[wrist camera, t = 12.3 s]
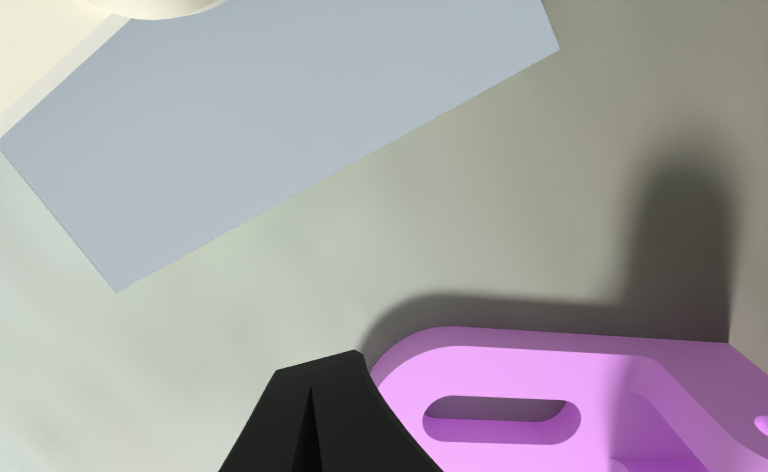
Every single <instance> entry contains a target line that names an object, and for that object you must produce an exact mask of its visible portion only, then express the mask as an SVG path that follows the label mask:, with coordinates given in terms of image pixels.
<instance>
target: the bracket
mask: <svg viewBox="0 0 768 472" xmlns="http://www.w3.org/2000/svg"><path fill="white" fill-rule="evenodd" d="M369 374H370V376H371V378H372V380H373V382H374V383H375V385H376V387H377V388H378V390H379V392H380V393H381V395H382V396H383V398H384V399H385V401H386V402H387V404H388V405H389V407H390V408H391V409H392V411H393V412H394V413H395V415H396V416H397V417H398V419H399V420H400V421H401V423H402V424H403V425H404V427H405V428H406V429H407V430H408V432H409V433H410V434H411V435H412V437H413V438H414V439H415V440H416V441H417V443H418V444H419V445H420V446H421V447H422V448H423V449H424V450H425V452H426V453H427V454H428V455H429V456H430V457H431V458H432V459H433V460H434V462H435V463H436V464H437V465H438V466H439V467H440V468H441V469H442V470H443V471H444V472H768V375H767V374H766V373H764V372H763V371H762V370H761V369H759V368H758V367H757V366H756V365H755V364H753V363H752V362H751V361H750V360H748V359H747V358H746V357H745V356H744V355H742V354H741V353H740V352H739V351H737V350H736V349H735V348H734V347H732V346H731V345H730V344H729V343H717V342H701V341H685V340H669V339H653V338H637V337H621V336H605V335H589V334H573V333H556V332H540V331H524V330H508V329H492V328H476V327H460V326H443V327H435V328H429V329H426V330H422V331H419V332H417V333H414V334H412V335H410V336H408V337H406V338H404V339H402V340H400V341H399V342H397V343H396V344H394V345H393V346H392V347H391V348H389V349H388V350H387V351H386V352H385V353H384V354H383V355H382V356H381V357H380V358H379V360H378V361H377V362H376V364H375V365H374V366H373V368H372V370H371V372H370V373H369ZM451 395H456V396H480V397H503V398H526V399H549V400H565V401H566V403H565V405H564V407H563V409H562V410H561V411H560V412H559V413H558V414H557V415H556V416H555V417H553V418H551V419H549V420H546V421H542V422H525V421H498V420H471V419H444V418H432V417H429V416H427V415H425V414H424V412H425V411H426V409H427V408H428V406H429V405H430V404H431V403H433V402H434V401H436V400H437V399H439V398H442V397H445V396H451Z"/></svg>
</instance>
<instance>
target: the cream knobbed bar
mask: <svg viewBox="0 0 768 472" xmlns="http://www.w3.org/2000/svg"><path fill="white" fill-rule="evenodd" d="M227 1H229V0H0V138H1V137H2V136H3V135H4V134H5V133H6V132H7V131H8V130H9V129H11V128H12V127H13V126H14V125H15V124H16V123H17V122H18V121H19V120H20V119H22V118H23V117H24V116H25V115H26V114H27V113H28V112H29V111H30V110H31V109H33V108H34V107H35V106H36V105H37V104H38V103H39V102H40V101H41V100H42V99H44V98H45V97H46V96H47V95H48V94H49V93H50V92H51V91H52V90H53V89H54V88H56V87H57V86H58V85H59V84H60V83H61V82H62V81H63V80H64V79H65V78H67V77H68V76H69V75H70V74H71V73H72V72H73V71H74V70H75V69H76V68H78V67H79V66H80V65H81V64H82V63H83V62H84V61H85V60H86V59H87V58H89V57H90V56H91V55H92V54H93V53H94V52H95V51H96V50H97V49H98V48H99V47H101V46H102V45H103V44H104V43H105V42H106V41H107V40H108V39H109V38H110V37H112V36H113V35H114V34H115V33H116V32H117V31H118V30H119V29H120V28H121V27H123V26H124V25H125V24H126V23H127V22H128V21H129V20H130V19H131V18H134V19H141V20H162V19H171V18H177V17H182V16H188V15H193V14H198V13H202V12H206V11H209V10H211V9H214V8H217V7H219V6H220V5H222V4H224V3H226V2H227Z"/></svg>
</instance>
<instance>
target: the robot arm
mask: <svg viewBox="0 0 768 472" xmlns="http://www.w3.org/2000/svg"><path fill="white" fill-rule="evenodd" d="M218 472H444V471H443V470H442V469H441V468H440V467H439V466H438V465H437V464H436V463H435V462H434V460H433V459H432V458H431V457H430V456H429V455H428V454H427V453H426V452H425V450H424V449H423V448H422V447H421V446H420V445H419V444H418V443H417V441H416V440H415V439H414V438H413V437H412V435H411V434H410V433H409V432H408V430H407V429H406V428H405V427H404V425H403V424H402V423H401V421H400V420H399V419H398V417H397V416H396V415H395V413H394V412H393V411H392V409H391V408H390V407H389V405H388V404H387V402H386V401H385V399H384V398H383V396H382V395H381V393H380V392H379V390H378V388H377V387H376V385H375V383H374V382H373V380H372V378H371V376H370V374H369V372H368V370H367V366H366V363H365V359H364V356H363V354H362V353H360V352H358V351H356V350H351V351H347V352H343V353H339V354H336V355H332V356H328V357H324V358H321V359H317V360H313V361H309V362H306V363H302V364H298V365H294V366H291V367H287V368H283V369H279V370H276V371H275V373H274V374H273V376H272V378H271V379H270V381H269V383H268V385H267V386H266V388H265V390H264V392H263V394H262V396H261V397H260V399H259V401H258V403H257V405H256V407H255V409H254V410H253V412H252V414H251V416H250V418H249V420H248V421H247V423H246V425H245V427H244V429H243V430H242V432H241V434H240V436H239V437H238V439H237V441H236V443H235V444H234V446H233V448H232V449H231V451H230V453H229V454H228V456H227V458H226V460H225V461H224V463H223V465H222V466H221V468H220V470H219V471H218Z"/></svg>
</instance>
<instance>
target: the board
mask: <svg viewBox="0 0 768 472" xmlns="http://www.w3.org/2000/svg"><path fill="white" fill-rule="evenodd" d="M558 50H560V48H559V46H558V43H557V40H556V38H555V35H554V33H553V30H552V28H551V25H550V22H549V20H548V17H547V15H546V12H545V10H544V7H543V4H542V2H541V0H229V1H227V2H226V3H224V4H222V5H220V6H219V7H217V8H214V9H211V10H209V11H206V12H202V13H198V14H193V15H188V16H182V17H177V18H171V19H162V20H141V19H134V18H131V19H130V20H129V21H128V22H127V23H126V24H125V25H124V26H123V27H121V28H120V29H119V30H118V31H117V32H116V33H115V34H114V35H113V36H112V37H110V38H109V39H108V40H107V41H106V42H105V43H104V44H103V45H102V46H101V47H99V48H98V49H97V50H96V51H95V52H94V53H93V54H92V55H91V56H90V57H89V58H87V59H86V60H85V61H84V62H83V63H82V64H81V65H80V66H79V67H78V68H76V69H75V70H74V71H73V72H72V73H71V74H70V75H69V76H68V77H67V78H65V79H64V80H63V81H62V82H61V83H60V84H59V85H58V86H57V87H56V88H54V89H53V90H52V91H51V92H50V93H49V94H48V95H47V96H46V97H45V98H44V99H42V100H41V101H40V102H39V103H38V104H37V105H36V106H35V107H34V108H33V109H31V110H30V111H29V112H28V113H27V114H26V115H25V116H24V117H23V118H22V119H20V120H19V121H18V122H17V123H16V124H15V125H14V126H13V127H12V128H11V129H9V130H8V131H7V132H6V133H5V134H4V135H3V136H2V137H1V138H0V151H1V152H2V153H3V154H4V156H5V157H6V158H7V159H8V160H9V162H10V163H11V164H12V165H13V167H14V168H15V169H16V170H17V172H18V173H19V174H20V175H21V177H22V178H23V179H24V180H25V182H26V183H27V184H28V185H29V186H30V188H31V189H32V190H33V191H34V193H35V194H36V195H37V196H38V198H39V199H40V200H41V201H42V203H43V204H44V205H45V206H46V207H47V209H48V210H49V211H50V212H51V214H52V215H53V216H54V217H55V219H56V220H57V221H58V222H59V224H60V225H61V226H62V227H63V229H64V230H65V231H66V232H67V233H68V235H69V236H70V237H71V238H72V240H73V241H74V242H75V243H76V245H77V246H78V247H79V248H80V250H81V251H82V252H83V253H84V255H85V256H86V257H87V258H88V259H89V261H90V262H91V263H92V264H93V266H94V267H95V268H96V269H97V271H98V272H99V273H100V274H101V276H102V277H103V278H104V279H105V280H106V282H107V283H108V284H109V285H110V287H111V288H112V289H113V290H114V292H115V293H117V292H119V291H121V290H123V289H124V288H126V287H128V286H130V285H132V284H133V283H135V282H137V281H139V280H141V279H143V278H144V277H146V276H148V275H150V274H152V273H153V272H155V271H157V270H159V269H161V268H163V267H164V266H166V265H168V264H170V263H172V262H174V261H175V260H177V259H179V258H181V257H183V256H184V255H186V254H188V253H190V252H192V251H194V250H195V249H197V248H199V247H201V246H203V245H204V244H206V243H208V242H210V241H212V240H214V239H215V238H217V237H219V236H221V235H223V234H225V233H226V232H228V231H230V230H232V229H234V228H235V227H237V226H239V225H241V224H243V223H245V222H246V221H248V220H250V219H252V218H254V217H255V216H257V215H259V214H261V213H263V212H265V211H266V210H268V209H270V208H272V207H274V206H276V205H277V204H279V203H281V202H283V201H285V200H286V199H288V198H290V197H292V196H294V195H296V194H297V193H299V192H301V191H303V190H305V189H306V188H308V187H310V186H312V185H314V184H316V183H317V182H319V181H321V180H323V179H325V178H327V177H328V176H330V175H332V174H334V173H336V172H337V171H339V170H341V169H343V168H345V167H347V166H348V165H350V164H352V163H354V162H356V161H357V160H359V159H361V158H363V157H365V156H367V155H368V154H370V153H372V152H374V151H376V150H378V149H379V148H381V147H383V146H385V145H387V144H388V143H390V142H392V141H394V140H396V139H398V138H399V137H401V136H403V135H405V134H407V133H408V132H410V131H412V130H414V129H416V128H418V127H419V126H421V125H423V124H425V123H427V122H428V121H430V120H432V119H434V118H436V117H438V116H439V115H441V114H443V113H445V112H447V111H449V110H450V109H452V108H454V107H456V106H458V105H459V104H461V103H463V102H465V101H467V100H469V99H470V98H472V97H474V96H476V95H478V94H479V93H481V92H483V91H485V90H487V89H489V88H490V87H492V86H494V85H496V84H498V83H500V82H501V81H503V80H505V79H507V78H509V77H510V76H512V75H514V74H516V73H518V72H520V71H521V70H523V69H525V68H527V67H529V66H530V65H532V64H534V63H536V62H538V61H540V60H541V59H543V58H545V57H547V56H549V55H551V54H552V53H554V52H556V51H558Z"/></svg>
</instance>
